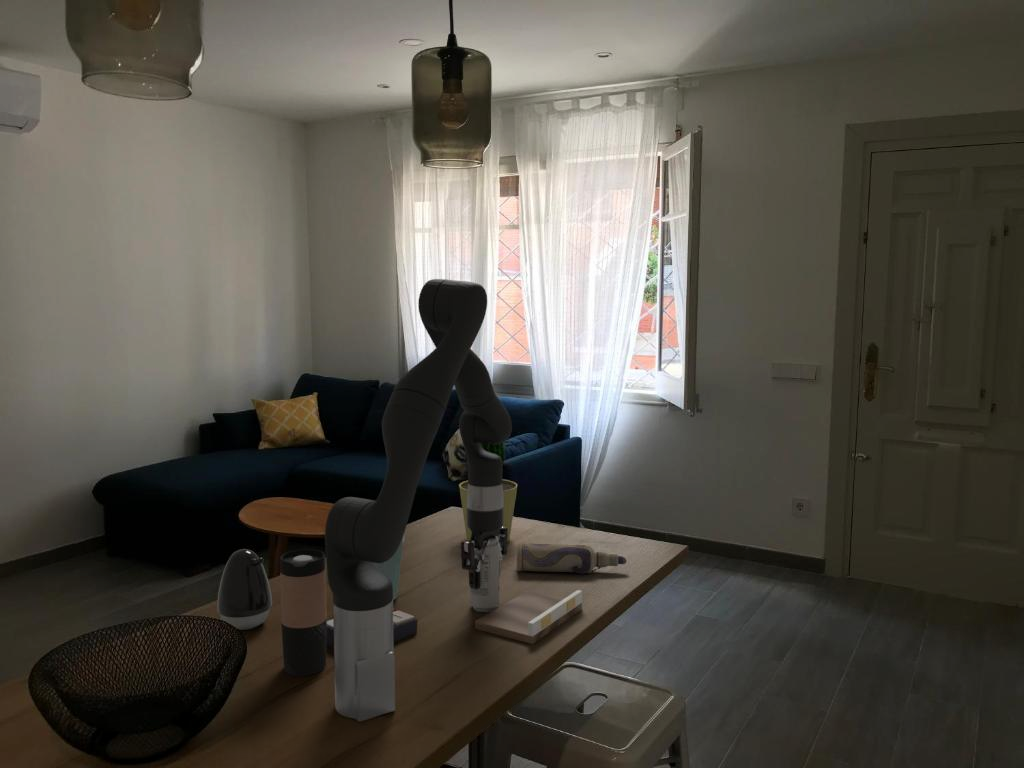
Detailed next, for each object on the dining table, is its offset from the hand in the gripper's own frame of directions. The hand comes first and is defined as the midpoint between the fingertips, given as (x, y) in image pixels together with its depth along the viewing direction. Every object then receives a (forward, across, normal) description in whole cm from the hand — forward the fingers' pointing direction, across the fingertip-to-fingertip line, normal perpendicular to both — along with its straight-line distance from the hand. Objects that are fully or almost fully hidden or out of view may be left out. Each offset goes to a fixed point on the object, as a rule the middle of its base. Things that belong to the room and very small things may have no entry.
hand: (485, 582), depth 169 cm
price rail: (+4, 0, -17) cm, 18 cm away
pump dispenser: (+5, -33, +34) cm, 48 cm away
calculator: (+6, -24, +10) cm, 27 cm away
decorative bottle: (+6, +28, -4) cm, 29 cm away
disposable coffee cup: (+6, -8, +22) cm, 24 cm away
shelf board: (+5, 0, -11) cm, 12 cm away
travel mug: (+5, -40, +11) cm, 41 cm away
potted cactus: (+6, +39, +26) cm, 47 cm away
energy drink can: (+6, 0, 0) cm, 6 cm away
